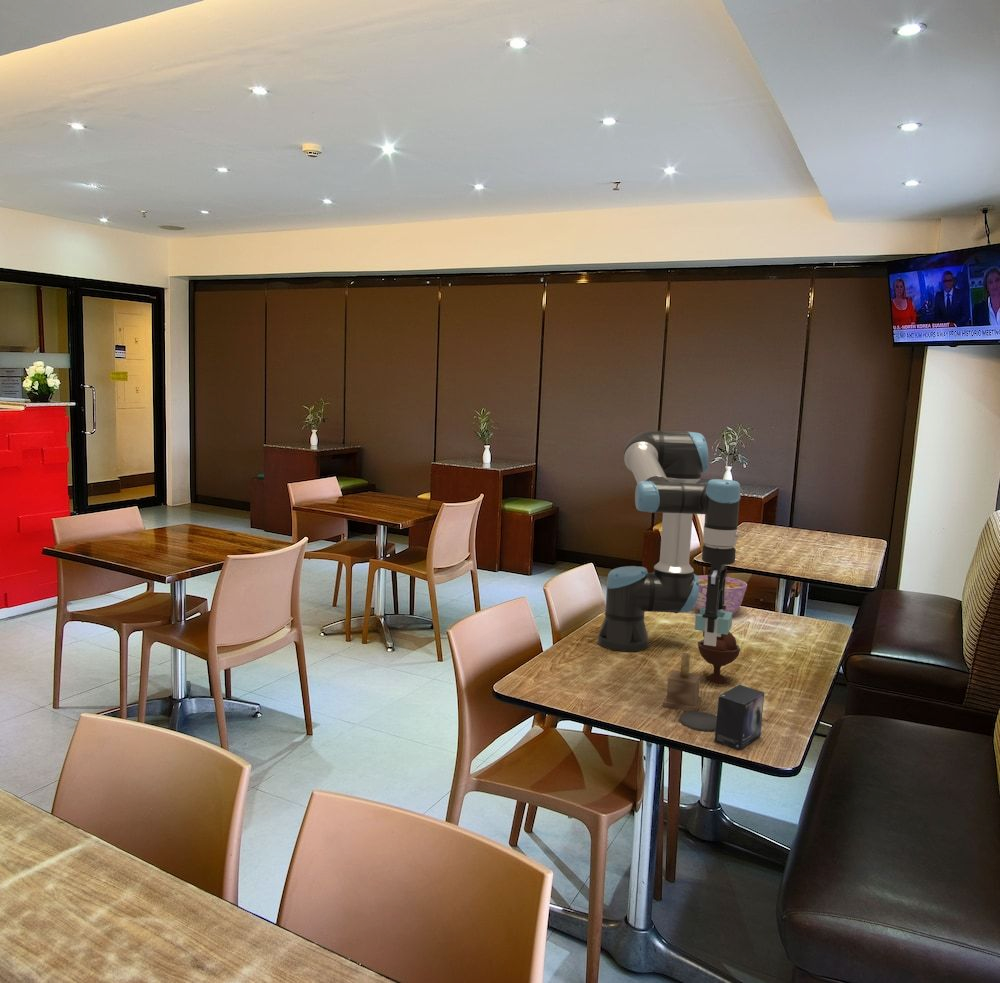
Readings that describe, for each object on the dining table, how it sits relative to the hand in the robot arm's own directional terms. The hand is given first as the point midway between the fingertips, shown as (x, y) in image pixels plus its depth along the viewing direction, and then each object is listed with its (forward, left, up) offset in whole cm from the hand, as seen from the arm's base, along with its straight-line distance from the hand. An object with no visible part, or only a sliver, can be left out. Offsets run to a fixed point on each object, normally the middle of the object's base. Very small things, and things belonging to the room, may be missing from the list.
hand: (712, 640), depth 187 cm
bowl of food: (-11, +92, -17) cm, 94 cm away
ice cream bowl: (-1, +22, -17) cm, 28 cm away
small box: (+9, -14, -17) cm, 24 cm away
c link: (0, 0, +3) cm, 3 cm away
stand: (-6, 0, -17) cm, 18 cm away
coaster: (0, -9, -17) cm, 19 cm away
